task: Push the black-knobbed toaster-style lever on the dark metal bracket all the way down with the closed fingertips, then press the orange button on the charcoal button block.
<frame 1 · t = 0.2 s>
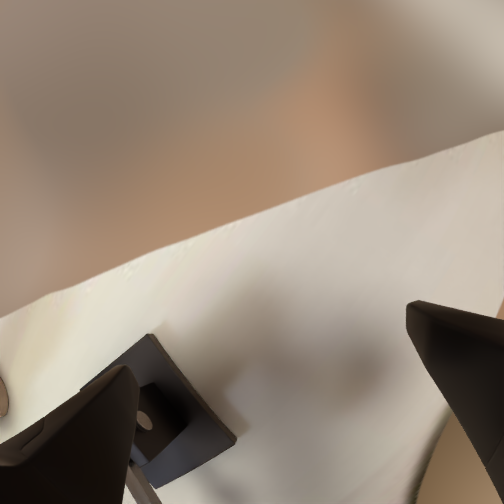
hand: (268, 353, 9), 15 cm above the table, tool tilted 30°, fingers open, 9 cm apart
bracket: (154, 415, 22), on the table
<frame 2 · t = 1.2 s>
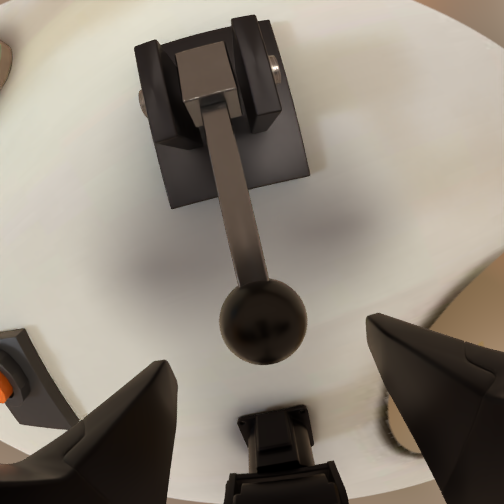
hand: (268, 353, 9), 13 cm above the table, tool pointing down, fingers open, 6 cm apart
lever: (233, 192, 11), point 9 cm above the table, hinge at 20.0°
button block: (23, 379, 25), on the table
bracket: (220, 110, 19), on the table
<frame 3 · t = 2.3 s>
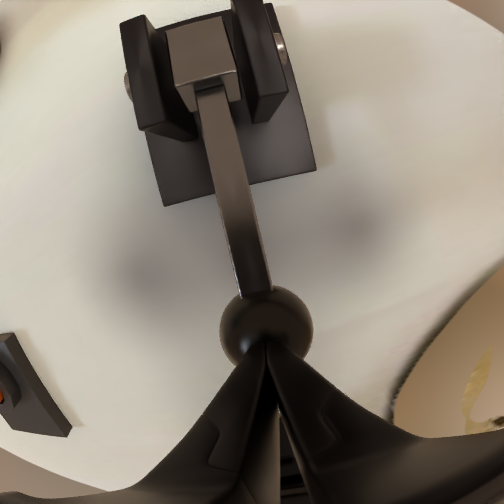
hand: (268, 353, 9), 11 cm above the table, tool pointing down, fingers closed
lever: (233, 189, 10), point 8 cm above the table, hinge at 14.2°
button block: (14, 384, 23), on the table
bracket: (218, 98, 17), on the table
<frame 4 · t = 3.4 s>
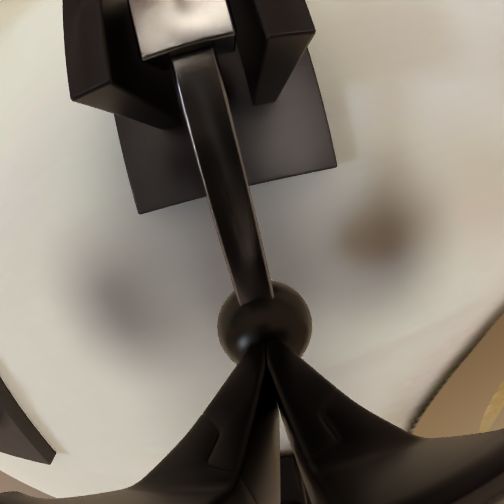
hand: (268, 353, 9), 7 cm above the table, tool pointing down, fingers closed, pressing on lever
lever: (227, 187, 8), point 6 cm above the table, hinge at -10.6°, touching gripper
bracket: (209, 75, 13), on the table
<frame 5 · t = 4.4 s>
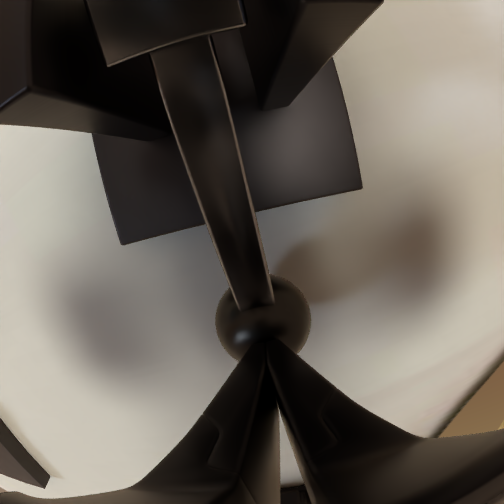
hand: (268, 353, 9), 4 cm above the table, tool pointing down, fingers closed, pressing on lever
lever: (227, 202, 7), point 5 cm above the table, hinge at -27.1°, touching gripper
bracket: (206, 73, 10), on the table
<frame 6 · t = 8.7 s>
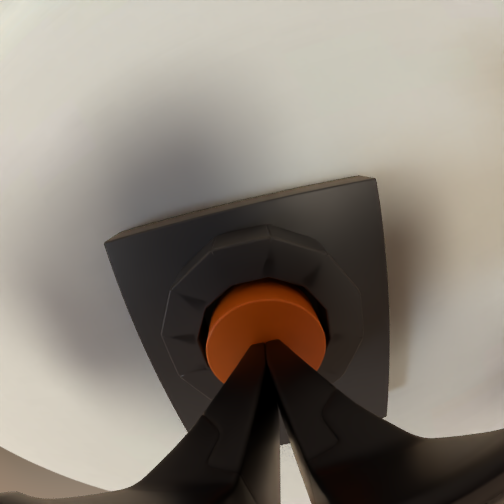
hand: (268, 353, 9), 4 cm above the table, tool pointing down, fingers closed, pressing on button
button block: (269, 334, 13), on the table
button: (264, 338, 10), point 3 cm above the table, slide at -0.5 cm, touching gripper
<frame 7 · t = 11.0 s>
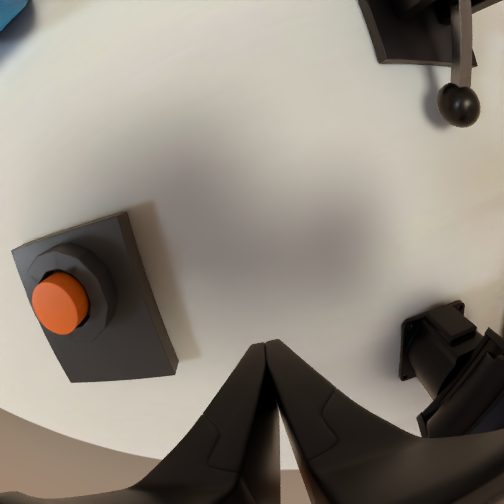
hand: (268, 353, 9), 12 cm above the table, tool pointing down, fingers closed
lever: (461, 37, 12), point 5 cm above the table, hinge at -27.2°
alarm clock: (7, 9, 13), on the table
button block: (94, 304, 21), on the table
button: (60, 303, 17), point 4 cm above the table, slide at 0.1 cm
bracket: (408, 3, 15), on the table
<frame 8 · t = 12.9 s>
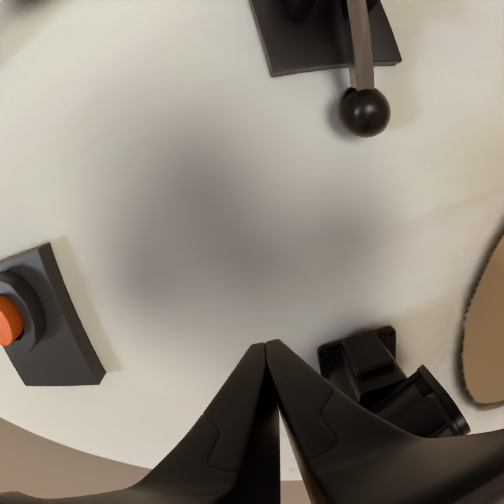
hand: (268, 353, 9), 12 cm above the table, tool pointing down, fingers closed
lever: (357, 30, 12), point 5 cm above the table, hinge at -27.2°
button block: (36, 320, 22), on the table
button: (2, 320, 17), point 4 cm above the table, slide at 0.1 cm
bracket: (315, 2, 16), on the table
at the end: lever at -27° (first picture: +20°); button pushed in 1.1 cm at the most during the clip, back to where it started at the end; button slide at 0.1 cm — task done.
